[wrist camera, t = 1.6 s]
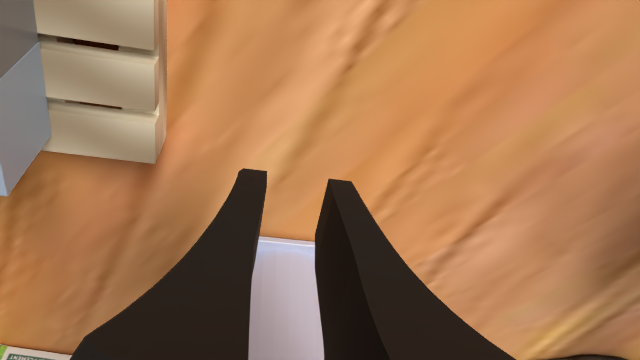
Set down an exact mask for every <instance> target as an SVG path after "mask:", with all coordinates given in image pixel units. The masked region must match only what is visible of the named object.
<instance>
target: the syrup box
mask: <svg viewBox="0 0 640 360" xmlns="http://www.w3.org/2000/svg"><path fill="white" fill-rule="evenodd" d="M71 357H72V355H67V354H59V353H53V352H46V351H39V350H32V349H25V348H18V347H12V346H7V345H3V344H0V360H70V358H71Z"/></svg>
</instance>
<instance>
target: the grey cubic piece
mask: <svg viewBox="0 0 640 360" xmlns="http://www.w3.org/2000/svg"><path fill="white" fill-rule="evenodd" d="M38 42H39V41H38V33H37V26H36V18H35V11H34V3H33V0H0V78H1V77H2V76H3V75H5V74H6V73H7V72H8V71H9V70H10V69H11V68H12V67H13V66H14V65H15V64H16V63H17V62H18V61H19V60H20V59H21V58H22V57H23V56H24V55H25V54H26V53H28V52H29V51H30V50H31V49H32V48H33V47H34V46H35V45H36V44H37V43H38Z"/></svg>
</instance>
